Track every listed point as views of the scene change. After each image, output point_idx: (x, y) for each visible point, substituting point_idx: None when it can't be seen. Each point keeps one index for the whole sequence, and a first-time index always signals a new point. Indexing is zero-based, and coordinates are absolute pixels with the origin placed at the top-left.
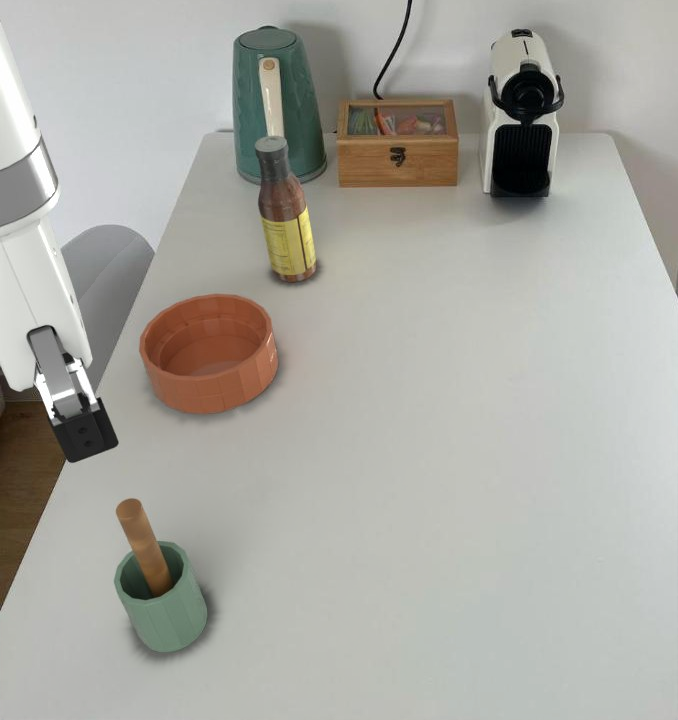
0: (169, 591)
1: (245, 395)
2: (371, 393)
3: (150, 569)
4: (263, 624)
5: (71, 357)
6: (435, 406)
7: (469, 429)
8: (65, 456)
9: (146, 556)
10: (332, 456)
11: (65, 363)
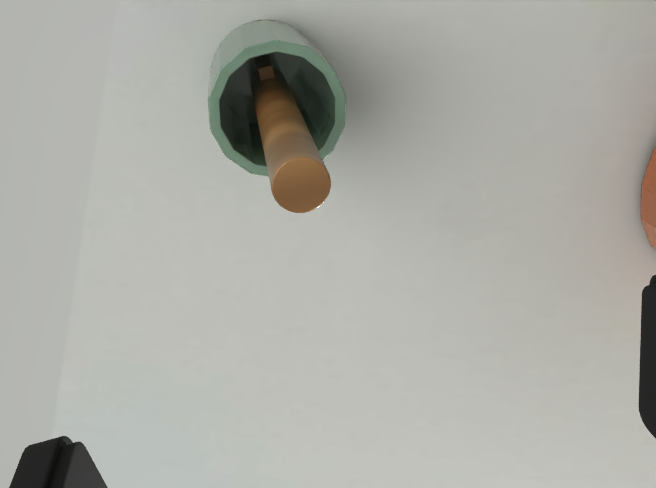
0: (227, 143)
1: (651, 226)
2: (569, 381)
3: (259, 128)
4: (227, 207)
5: (653, 395)
6: (507, 449)
7: (452, 478)
8: (15, 473)
9: (262, 143)
10: (481, 322)
11: (643, 356)
